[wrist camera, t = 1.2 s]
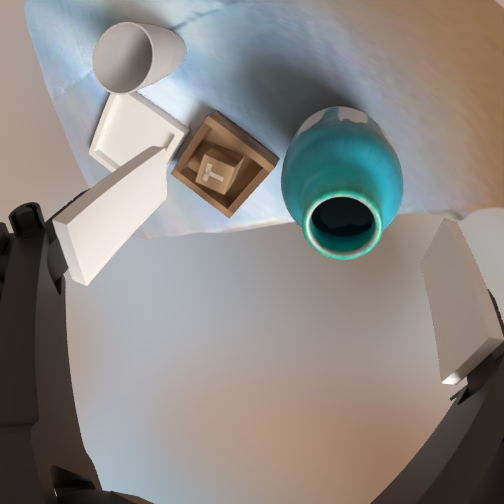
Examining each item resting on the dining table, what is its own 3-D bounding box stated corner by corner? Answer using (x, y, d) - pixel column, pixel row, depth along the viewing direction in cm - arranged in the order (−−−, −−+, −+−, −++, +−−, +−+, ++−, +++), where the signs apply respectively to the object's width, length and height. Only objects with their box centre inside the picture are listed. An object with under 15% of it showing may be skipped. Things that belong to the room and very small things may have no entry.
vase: (401, 152, 31) (447, 246, 17) (334, 196, 37) (325, 307, 23) (346, 81, 28) (359, 110, 14) (279, 134, 34) (227, 211, 20)
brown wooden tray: (180, 165, 40) (170, 173, 38) (217, 110, 34) (207, 115, 32) (235, 207, 42) (229, 218, 40) (279, 158, 36) (275, 167, 34)
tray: (95, 149, 42) (88, 153, 41) (122, 82, 34) (114, 84, 33) (152, 193, 45) (147, 199, 43) (190, 129, 37) (184, 133, 35)
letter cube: (207, 169, 39) (195, 181, 36) (216, 144, 36) (203, 154, 33) (234, 181, 39) (223, 195, 36) (244, 156, 37) (234, 168, 33)
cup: (138, 34, 29) (86, 39, 21) (192, 16, 27) (146, 10, 19) (149, 86, 34) (101, 103, 26) (203, 73, 31) (161, 83, 24)
